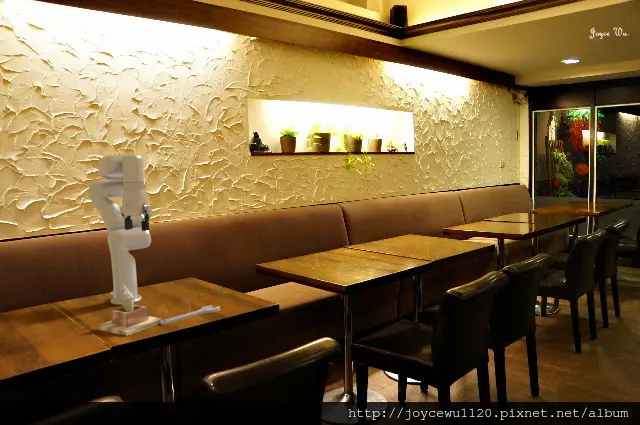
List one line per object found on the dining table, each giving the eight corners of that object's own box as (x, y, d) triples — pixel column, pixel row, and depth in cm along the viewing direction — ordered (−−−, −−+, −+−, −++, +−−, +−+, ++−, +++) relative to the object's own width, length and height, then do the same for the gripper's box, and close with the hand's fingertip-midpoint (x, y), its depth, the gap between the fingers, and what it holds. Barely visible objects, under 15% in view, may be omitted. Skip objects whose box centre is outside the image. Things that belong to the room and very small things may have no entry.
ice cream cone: (130, 323, 190) (121, 285, 194) (141, 319, 190) (133, 280, 193) (122, 323, 186) (113, 284, 189) (134, 319, 185) (125, 280, 188)
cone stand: (97, 329, 185) (96, 311, 184) (133, 316, 198) (132, 300, 198) (126, 336, 177) (125, 317, 176) (162, 322, 190) (161, 305, 190)
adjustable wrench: (162, 326, 187) (162, 322, 187) (155, 323, 192) (154, 318, 192) (222, 311, 204) (221, 306, 203) (213, 308, 208) (213, 303, 208)
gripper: (111, 187, 200) (114, 230, 202) (141, 187, 192) (144, 232, 193) (127, 186, 207) (130, 227, 209) (157, 186, 198) (159, 229, 200)
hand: (137, 229), depth 201 cm, fingers open, 9 cm apart
